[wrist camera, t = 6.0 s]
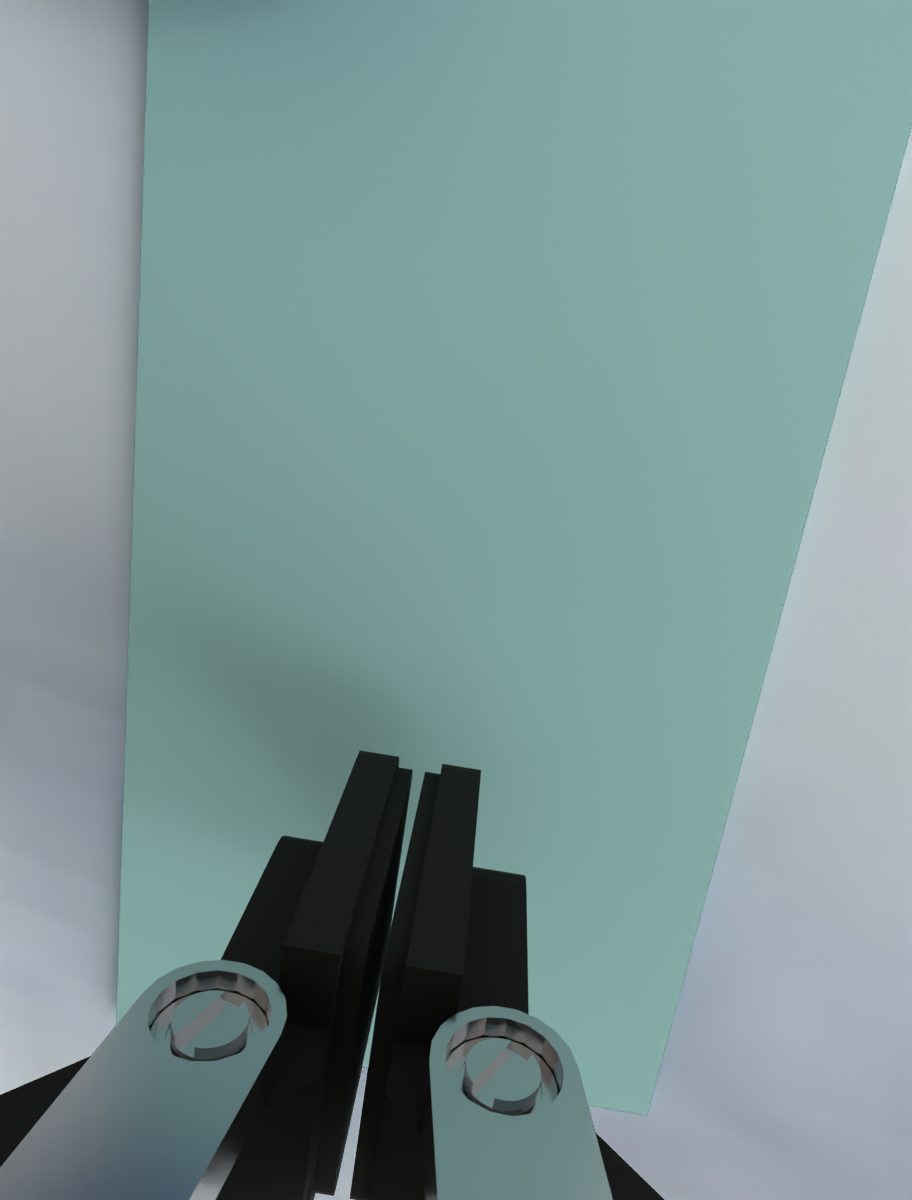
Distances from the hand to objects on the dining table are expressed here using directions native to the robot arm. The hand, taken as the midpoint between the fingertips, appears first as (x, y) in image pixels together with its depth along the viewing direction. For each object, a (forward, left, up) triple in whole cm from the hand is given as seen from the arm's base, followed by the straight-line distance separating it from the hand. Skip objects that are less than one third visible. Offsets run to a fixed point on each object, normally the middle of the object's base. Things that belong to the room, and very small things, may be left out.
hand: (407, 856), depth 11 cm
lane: (0, -10, -2) cm, 10 cm away
